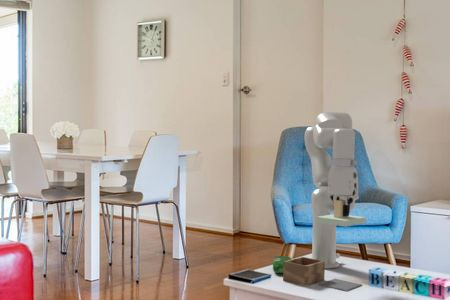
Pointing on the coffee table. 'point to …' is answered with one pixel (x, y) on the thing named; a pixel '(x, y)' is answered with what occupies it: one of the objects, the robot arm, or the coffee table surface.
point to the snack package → (279, 263)
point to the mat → (340, 284)
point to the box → (303, 271)
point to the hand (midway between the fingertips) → (341, 214)
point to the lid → (340, 217)
